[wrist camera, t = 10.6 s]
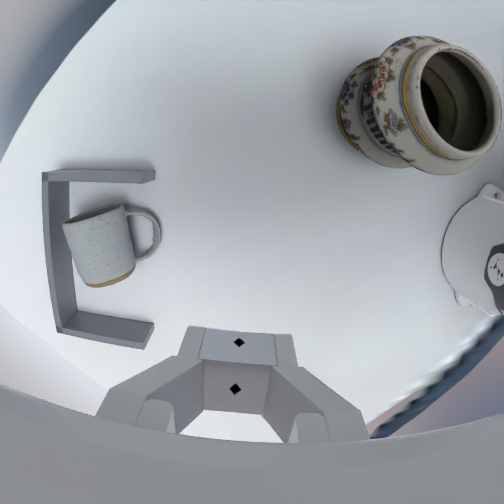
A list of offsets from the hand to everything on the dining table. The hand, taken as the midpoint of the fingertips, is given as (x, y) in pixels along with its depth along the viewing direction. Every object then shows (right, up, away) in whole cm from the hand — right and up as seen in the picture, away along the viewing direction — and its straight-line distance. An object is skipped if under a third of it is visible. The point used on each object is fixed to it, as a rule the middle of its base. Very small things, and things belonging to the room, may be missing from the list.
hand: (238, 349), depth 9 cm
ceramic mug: (-16, +5, +29) cm, 33 cm away
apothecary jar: (+15, +19, +24) cm, 34 cm away
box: (-18, +3, +29) cm, 34 cm away
